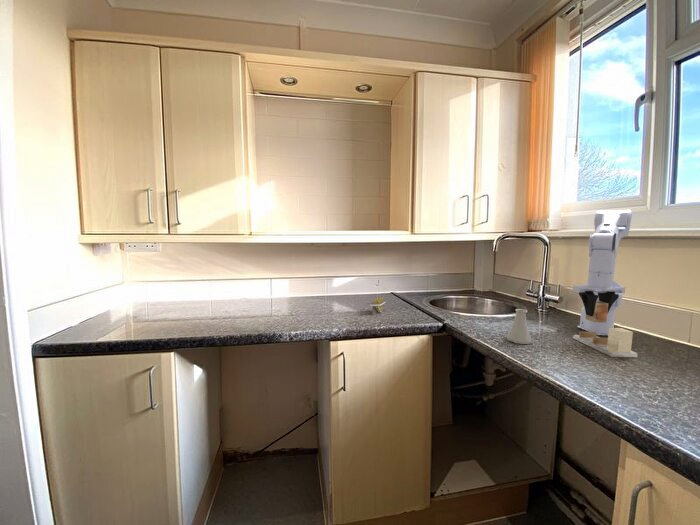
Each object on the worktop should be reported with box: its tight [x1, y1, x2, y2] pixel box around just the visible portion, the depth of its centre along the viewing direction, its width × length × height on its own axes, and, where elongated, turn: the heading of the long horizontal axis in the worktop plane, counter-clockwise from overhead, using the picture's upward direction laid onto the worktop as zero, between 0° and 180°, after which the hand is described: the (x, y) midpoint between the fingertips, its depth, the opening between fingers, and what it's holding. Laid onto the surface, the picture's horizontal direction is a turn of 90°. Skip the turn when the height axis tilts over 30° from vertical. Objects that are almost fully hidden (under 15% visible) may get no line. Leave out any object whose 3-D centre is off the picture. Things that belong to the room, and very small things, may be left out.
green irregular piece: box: [369, 297, 386, 316], centre depth 127 cm, size 12×18×7 cm, turn 154°
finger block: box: [586, 301, 608, 323], centre depth 94 cm, size 4×4×6 cm
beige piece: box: [572, 327, 639, 358], centre depth 92 cm, size 15×7×7 cm, turn 179°
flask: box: [506, 308, 533, 345], centre depth 96 cm, size 7×7×10 cm
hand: (596, 315), depth 95 cm, fingers closed on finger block, 4 cm apart
